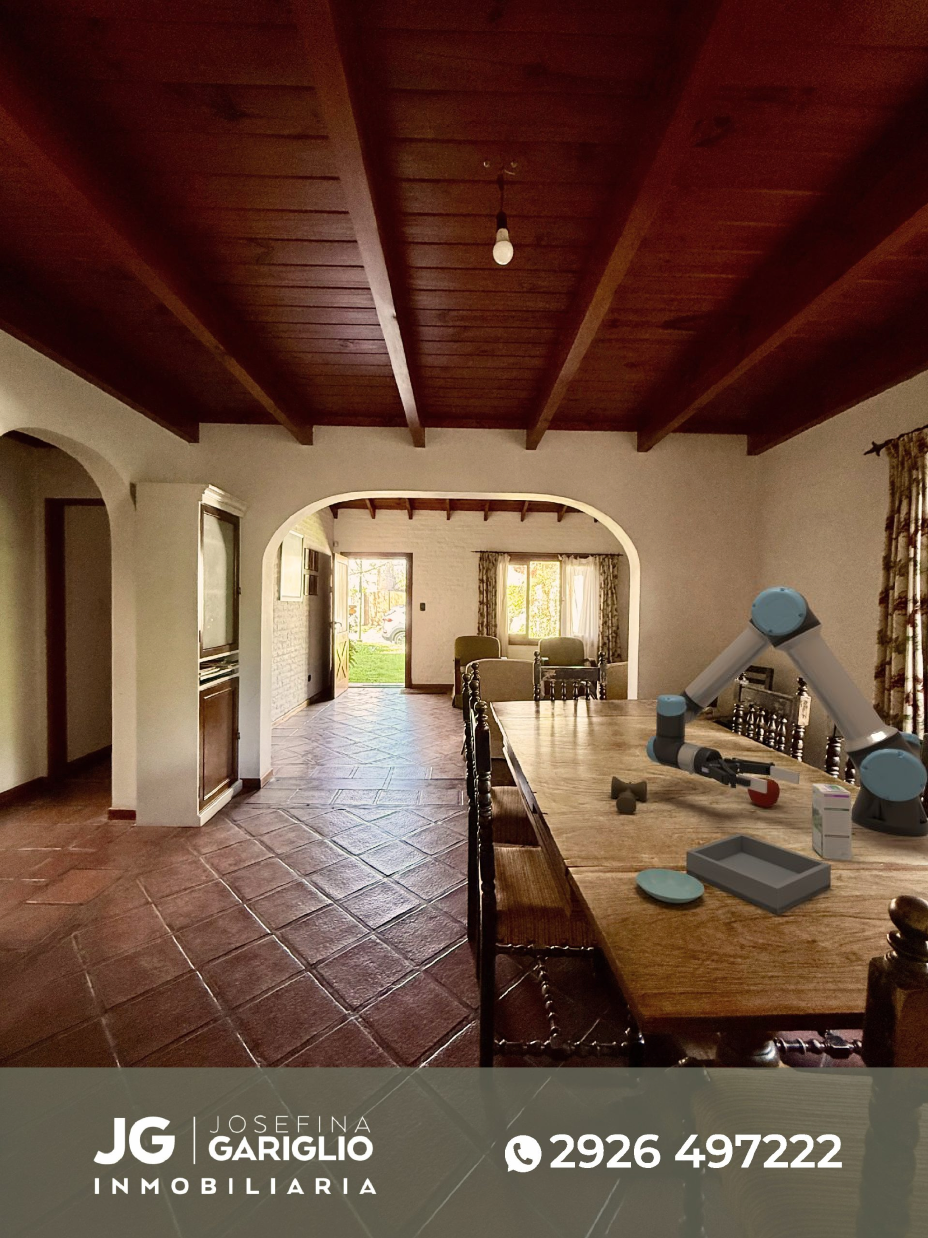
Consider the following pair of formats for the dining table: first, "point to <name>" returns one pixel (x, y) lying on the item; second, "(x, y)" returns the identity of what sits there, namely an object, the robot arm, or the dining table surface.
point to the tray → (759, 872)
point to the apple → (766, 794)
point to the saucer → (669, 885)
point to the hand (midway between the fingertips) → (782, 782)
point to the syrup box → (831, 822)
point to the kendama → (628, 794)
